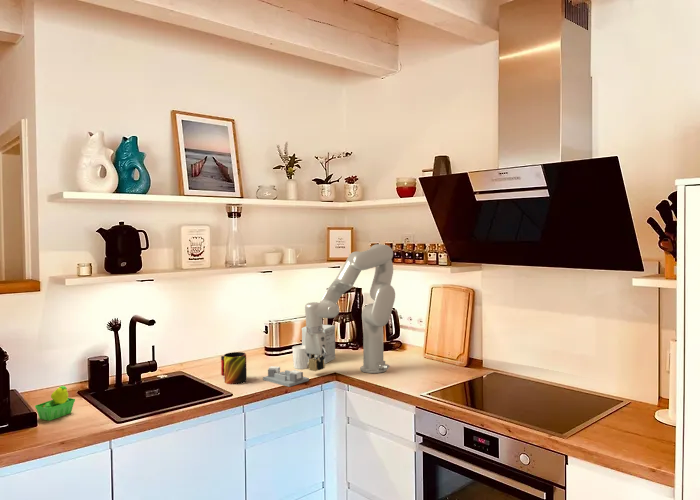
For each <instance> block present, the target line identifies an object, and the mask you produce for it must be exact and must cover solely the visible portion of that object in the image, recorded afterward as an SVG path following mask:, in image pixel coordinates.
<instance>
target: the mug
mask: <svg viewBox="0 0 700 500" xmlns="http://www.w3.org/2000/svg"><path fill="white" fill-rule="evenodd" d="M220 360H221V361H220V363H221V364H220V365H221V367H220V370H221V371H220V375H221V376H223V377H224V383H225V384H226V385H240V384H245V383H247V378H248V377H247V375H248V374H247V353H245V352H241V351H234V352H232V351H231V352H228V353H225V354H224V355H221V356H220Z"/></svg>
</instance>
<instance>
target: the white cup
mask: <svg viewBox="0 0 700 500" xmlns="http://www.w3.org/2000/svg"><path fill="white" fill-rule="evenodd" d="M291 349H292V361H293V368H294V369H295V370H296V369H297V370H303V369H308V368H309V362H308V356H307V354H306V353H305V349H306V348H305V345H302V344H300V345H294V346H292V347H291Z"/></svg>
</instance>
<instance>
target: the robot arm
mask: <svg viewBox="0 0 700 500" xmlns="http://www.w3.org/2000/svg"><path fill="white" fill-rule="evenodd" d="M393 257H394V251H393V249H392V247H391V246H389V245H387V244H380V243H379V244H378V243H377V244H376V243H375V244H373V245H372V246H370V248H369V249H367V250H363V251H353V252H351V253H350V254H349V255H348V257H347V258H346V261H344V264H343V266H342V267H341V269H340V271H339V273H338V274H337V276H336V278H335V279H334V280H333V282H332V283H331V284H330V285H329V287H327V289H326V291H325V293H324V294H323V296H322V297H321V299H320V302H315V301H314V302H308V303H306V304H305V306H304V311H305V312H304V313H305V314H304V315H305V327H306V331H307V332H306V338H305V348H306V349H305V353H306V354H307V356H308V357H309V359H311V358H314V357H315V355H317V357H318V362H317V364H318V371H321V370H324V368H323V360H324V359H325V357H327V356H328V354H327V343H326V337H325V334H324V332H323V330H324V329H323V325H324V324H323V319H333V318H336V317H337V316H338V315H339V314H340V307H339V305H338V302H339V300H340V298H341V297H342V296H343V294H345V293H346V292H347V291H349V290H351V289H352V288H353V286H354V284H355V282H356V281H357V279H358V277H359V275H360V274H361V272H362V271H367V270H369V269H374V268H375V270H374V276H373V278H372V279H373V280H372V283H371V286H370V290H369V296H370V298H371V299H372V300H373V303H368V304H366V305H365V306H364V308H363V309H362V310H361V320H362V321H361V322H362V329H363V330H362V333H363V334H362V336H363V337H362V339H363V340H362V343H363V345H362V346H363V347H362V349H363V354H362V355H363V358H362V359H363V365H361V366H360V371H361V372H363V373H366V374H367V373H368V374H380V373H385V372H386V371H388V370H389V369H390V364H386V361H385V360H384V326H386V325H387V324H388V322H389V320H390V318H391V315H392V311H393V308H394V304H395V301H396V291H395V287H393V286H392V285H391V284H392V280H393V276H394V263H393V260H392V259H393ZM320 356H321V357H320Z"/></svg>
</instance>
